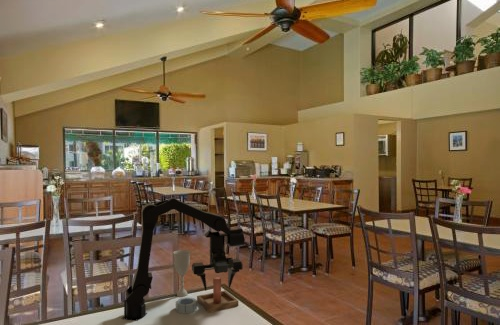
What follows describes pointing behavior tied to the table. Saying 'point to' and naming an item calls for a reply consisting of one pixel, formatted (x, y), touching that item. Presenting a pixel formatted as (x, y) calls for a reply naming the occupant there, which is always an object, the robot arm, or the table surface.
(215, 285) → the dowel
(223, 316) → the table surface
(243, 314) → the table surface
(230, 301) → the tray
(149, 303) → the table surface
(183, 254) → the chalice
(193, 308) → the grey hex nut
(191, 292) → the table surface
